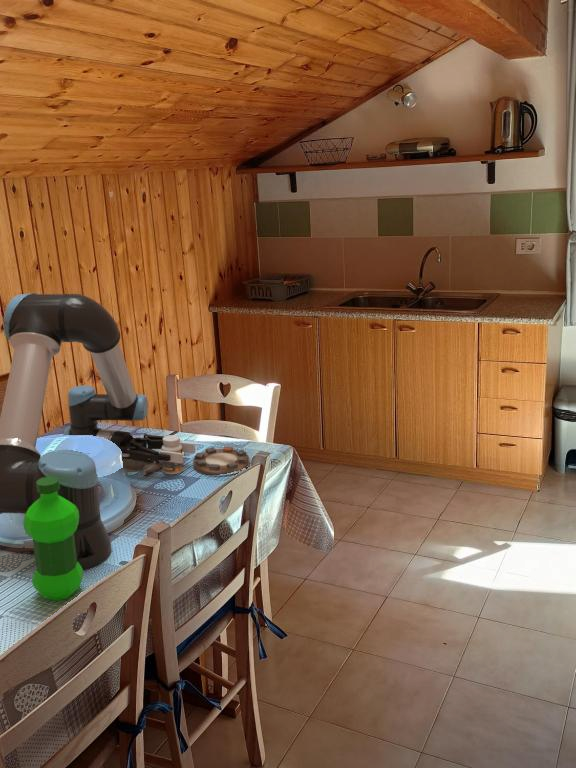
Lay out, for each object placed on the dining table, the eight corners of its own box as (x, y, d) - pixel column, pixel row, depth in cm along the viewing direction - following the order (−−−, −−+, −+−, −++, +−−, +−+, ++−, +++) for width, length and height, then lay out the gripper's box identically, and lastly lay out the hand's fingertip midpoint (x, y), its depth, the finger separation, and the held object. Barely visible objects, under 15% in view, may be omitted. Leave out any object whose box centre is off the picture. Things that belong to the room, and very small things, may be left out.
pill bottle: (179, 476, 208) (177, 442, 205) (159, 474, 209) (157, 441, 206) (186, 467, 213) (184, 435, 210) (166, 466, 214) (164, 433, 212)
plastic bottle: (48, 577, 159) (35, 468, 152) (94, 582, 157) (84, 472, 150) (23, 604, 150) (8, 489, 143) (72, 610, 148) (60, 494, 141)
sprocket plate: (240, 478, 206) (240, 470, 205) (185, 473, 210) (184, 465, 209) (255, 456, 221) (255, 448, 220) (203, 451, 224) (203, 444, 224)
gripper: (133, 443, 225) (203, 452, 218) (97, 469, 207) (172, 480, 200) (131, 419, 223) (202, 428, 216) (94, 443, 205) (171, 454, 198)
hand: (188, 453), depth 208 cm, fingers open, 7 cm apart
